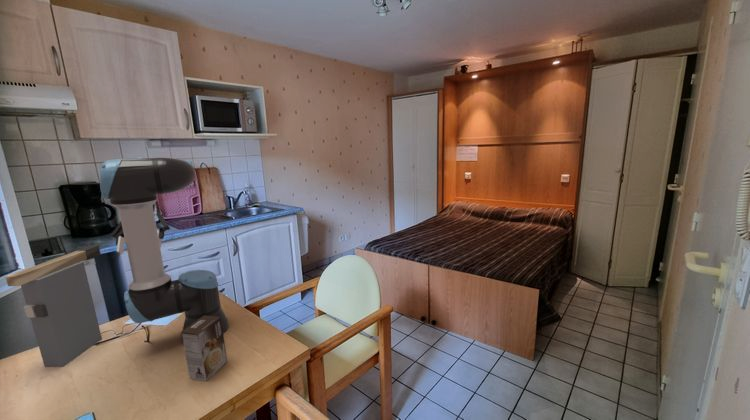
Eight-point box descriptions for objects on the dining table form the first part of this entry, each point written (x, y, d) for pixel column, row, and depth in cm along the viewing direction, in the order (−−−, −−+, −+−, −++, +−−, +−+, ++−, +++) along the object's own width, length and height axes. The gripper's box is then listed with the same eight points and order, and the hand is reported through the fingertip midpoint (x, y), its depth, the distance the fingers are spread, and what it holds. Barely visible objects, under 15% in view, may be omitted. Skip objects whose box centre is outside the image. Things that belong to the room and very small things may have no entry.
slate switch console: (102, 339, 111) (83, 261, 104) (59, 369, 96) (35, 281, 90) (85, 339, 111) (66, 262, 104) (41, 369, 96) (15, 281, 90)
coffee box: (211, 358, 100) (204, 314, 97) (228, 360, 99) (221, 316, 95) (188, 378, 91) (180, 331, 88) (206, 382, 90) (199, 334, 86)
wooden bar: (100, 254, 112) (98, 245, 112) (19, 286, 87) (16, 275, 86) (91, 254, 112) (89, 245, 112) (7, 286, 87) (4, 275, 86)
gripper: (180, 203, 136) (178, 246, 127) (116, 212, 131) (109, 258, 122) (172, 194, 130) (169, 239, 120) (105, 204, 124) (96, 252, 115)
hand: (139, 249), depth 121 cm, fingers open, 13 cm apart
